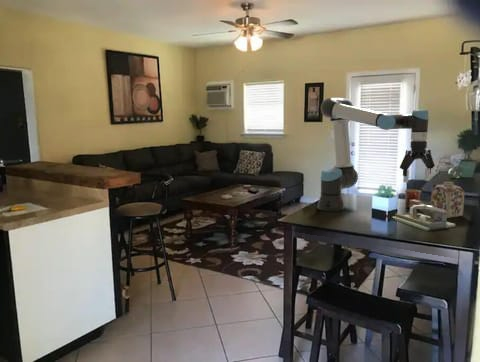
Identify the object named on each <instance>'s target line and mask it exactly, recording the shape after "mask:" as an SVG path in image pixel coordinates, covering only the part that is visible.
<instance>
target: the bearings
mask: <svg viewBox="0 0 480 362" xmlns="http://www.w3.org/2000/svg"><path fill="white" fill-rule="evenodd" d="M438 215H439V216H438ZM430 218H433V219H439V220H442V221H445V222H448V221H447V220H448V218H447V214H439V212H436V211H434V212H431V213H430Z"/></svg>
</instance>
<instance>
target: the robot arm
mask: <svg viewBox="0 0 480 362" xmlns="http://www.w3.org/2000/svg"><path fill="white" fill-rule="evenodd" d="M320 111H321V112H320V113H321V114H322V115H323V116H324V117H325V118H328V119H330V123H331V124H332V125H333V136H334V137H333V138H334V148H335V149H334V151H335V152H334V153H335V165H334V166H333V167H330V168H325V169H323V170H322V171H321V174H320V196H319V200H318V203H317V210H320V211H323V212H341V211H343V210H344V209H345V208H344V207H345V204H344V202H343V198H342V190H344V189H349V188H351V187H354V186H355V185H356V184H357V183H358V180H359V174H358V172H357V171H356V169H355V168H354V164H353V163H352V160H351V145H350V134H349V133H350V131H349V122H350V121H351V122H356V123H360V124H364V125H368V126H372V127H376V128H379V129H381V130H385V131H388V130H403V129H405V130H406V129H407V130H408V129H409V130H411V131H410V132H411V133H410V140H411V141H410V148H411V149H410V150H409V149H408V150H406V149H405V155H404V157H403V158H402V161H401V164H400V165H399V169H401V170H402V177H403V180H402V181H403V183H405V184H409V177H410V175H409V174H410V170H409V169H410V166H411V165H412V164H413V163H414V161H416V160H419V159H421V161H422V162H423V164H424V165H425V168H424V181H425V182H430V179H431V174H432V169H434V167H436V166H435V162H434V159H433V156H432V151H431V149H428V148H427V146H428V142H427V140H428V127H429V119H430V118H429V110H427V109H413V110H412V111H411V112H412V113H409V114H403V113H402V114H401V113H395V114H393V113H392V114H390V113H386V112H380V111H375V110H371V109H365V108H362V107H358V106H357V107H356V106H354V104H353V102H352V101H351V100H350V99H348V98H344V97H329V98H326V99H325V100H323V101H322V103H321V105H320Z"/></svg>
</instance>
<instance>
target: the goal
mask: <svg viewBox="0 0 480 362" xmlns="http://www.w3.org/2000/svg"><path fill="white" fill-rule="evenodd" d="M438 219H439V218H438ZM438 219H435V220H434V223H428V222H424V221H420V225H423V226H426V227H429V228H430V230H429V231H432V230H434V231H435V230H441V229H447V228H446V227H445V228H444V226H446V222H447V221H446V222H445V221H442V220H438Z"/></svg>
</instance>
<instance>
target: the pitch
mask: <svg viewBox="0 0 480 362" xmlns="http://www.w3.org/2000/svg"><path fill="white" fill-rule="evenodd" d="M421 215H424V216H425V217H426V221H424V222H428V223H434V220H435V219H433V218H430V217H431V215H430V216H429V215H425V214H422V213H418V212H417V213H416V218H414V219H413V218H410V211H408V214H399V213H396V212H395V215H394V216H391V219H392V218H393V219H392V220H394V219H395V221H397V222H400V223H403V224H406V225H408V226H411V225H412V227H415V228H417V229H421V230H423V231H431V230H430V228H429V227H426V226H423V225H420V220H419V217H420V216H421ZM438 220H439V218H438ZM445 227H446V228H445ZM454 227H456V223H453V222H449V221H446V226H444V228H443V229H448V228H454Z"/></svg>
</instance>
